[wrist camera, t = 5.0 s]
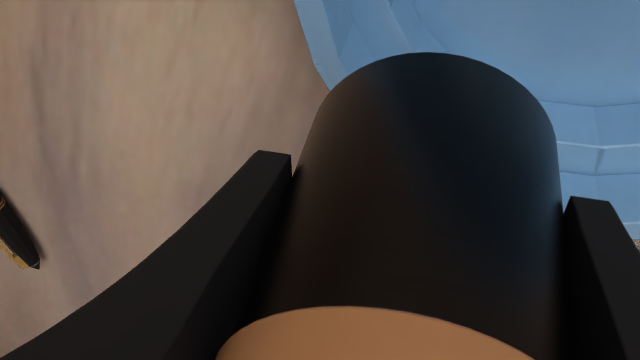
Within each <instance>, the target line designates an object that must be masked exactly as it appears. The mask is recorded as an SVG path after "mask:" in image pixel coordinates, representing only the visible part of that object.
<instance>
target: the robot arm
mask: <svg viewBox="0 0 640 360" xmlns="http://www.w3.org/2000/svg"><path fill="white" fill-rule="evenodd" d="M291 179H292V165H291V155H290V154H283V153H276V152H269V151H262V150H258V151H257V152H256V153H254V154H253V155H252V156H251V157H250V158H249V159H248V160H247V161H246V163H245V164H244V165H243V166H242V167H241V168H240V169H239V170H238V171H237V172H236V173H235V174H234V175H233V176H232V177H231V179H230V180H229V181H228V182H227V183H226V184H225V185H224V186H223V187H222V188H221V189H220V190H219V191H218V192H217V193H216V194H215V195H214V196H213V197H212V198H211V199H210V200H209V201H208V202H207V203H206V204H205V205H204V206H203V207H202V208H201V209H200V210H199V211H198V212H197V213H196V214H194V215H193V216H192V217H191V218H190V219H189V220H188V221H187V222H186V223H185V224H184V225H183V226H182V227H181V228H180V229H179V230H178V231H177V232H175V233H174V234H173V235H172V236H171V237H170V238H169V239H167V240H166V241H165V242H164V243H163V244H162V245H160V246H159V247H158V248H157V249H156V250H155V251H154V252H152V253H151V254H150V255H149V256H148V257H147V258H146V259H144V260H143V261H142V262H141V263H140V264H138V265H137V266H136V267H135V268H133V269H132V270H131V271H130V272H128V273H127V274H126V275H125V276H123V277H122V278H121V279H119V280H118V281H117V282H116V283H114V284H113V285H111V286H110V287H109V288H107V289H106V290H105V291H103V292H102V293H101V294H99V295H98V296H97V297H95V298H94V299H92V300H91V301H90V302H88V303H87V304H85V305H84V306H82V307H81V308H79V309H78V310H76V311H75V312H73V313H72V314H71V315H69V316H68V317H66V318H65V319H63V320H62V321H60V322H59V323H57V324H56V325H54V326H53V327H51V328H50V329H48V330H46V331H45V332H43V333H42V334H40V335H39V336H37V337H35V338H34V339H32V340H30V341H29V342H27V343H25V344H24V345H22V346H20V347H18V348H17V349H15V350H13V351H12V352H10V353H8V354H6V355H5V356H3V357H1V358H0V360H215V359H216V357H217V354H218V352H219V350H220V349H221V347H222V346H223V345H224V344H225V342H226V341H227V340H228V339H229V338H230V337H231V336H232V335H233V332H234V330H235V327H236V324H237V322H238V319H239V316H240V314H241V311H242V309H243V306H244V303H245V301H246V298H247V295H248V293H249V290H250V287H251V285H252V282H253V280H254V277H255V274H256V272H257V269H258V266H259V264H260V261H261V258H262V256H263V253H264V251H265V248H266V245H267V243H268V240H269V237H270V235H271V232H272V230H273V227H274V224H275V222H276V219H277V216H278V214H279V211H280V208H281V206H282V203H283V201H284V198H285V195H286V193H287V190H288V187H289V185H290V182H291ZM563 214H564V224H565V234H566V245H567V255H568V265H569V276H570V286H571V296H572V307H573V317H574V327H575V338H576V348H577V358H578V360H640V252H639V251H638V249H637V247H636V246H635V244H634V242H633V240H632V239H631V237H630V235H629V233H628V232H627V230H626V228H625V227H624V225H623V223H622V221H621V220H620V218H619V216H618V214H617V213H616V211H615V209H614V207H613V206H612V205H611V203H610V202H609V201H605V200H598V199H591V198H585V197H578V196H570V198H569V201H568V203H567V206H566V208H565V211H564V213H563Z"/></svg>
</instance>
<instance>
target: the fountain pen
mask: <svg viewBox="0 0 640 360" xmlns="http://www.w3.org/2000/svg"><path fill="white" fill-rule="evenodd" d="M0 239H1V240H2V241H3V242H4V243H5V244H6V245H7V246H8V248H9V249H10V250H11V251H12V252H13V253H14V254H13V255H11V254H10V253H9V251H8V250H7V249H6V248H5V247H4V246H3V245H2V243H1V242H0V248H1V249H2V250H3V251H4V252H5V253H6V255H7V256H8V257H9V258H10V259H11V260H12V261H13V262H15V263H16V264H17V265H18V266H19V267H20V268H22V269H25V268H28V267H32V268H35V269H40V257H39V255H38V253H37V251H36V249H35V246H34V244H33V242H32V241H31V239H30V237H29V236H28V234H27V232H26V231H25V229H24V228H23V226H22V224H21V223H20V221H19V220H18V218H17V217H16V215H15V214H14V212H13V211H12V209H11V208H10V207H9V205H8V204H7V202H6V201H5V199H4V198H3V196H2V195H1V194H0Z"/></svg>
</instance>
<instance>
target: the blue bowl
mask: <svg viewBox="0 0 640 360" xmlns="http://www.w3.org/2000/svg"><path fill="white" fill-rule="evenodd" d="M293 1H294V5H295V8H296V11H297V14H298V17H299V20H300V23H301V27H302V30H303V33H304V36H305V39H306V42H307V46H308V49H309V52H310V55H311V58H312V61H313V64H314V65H315V69H316V70H317V72H318V73H319V75H320V76H321V78H322V80H323V81H324V83H325V84H326V86H327V88H328V89H329V91H331V90H332V89H333V88H334V87H335V86H336V85H337V84H338V83H339V82H341V81H342V80H343V79H344V78H345V77H347V76H348V75H350V74H351V73H353V72H354V71H356V70H358V69H359V68H361V67H363V66H365V65H368V64H370V63H372V62H374V61H377V60H380V59H383V58H387V57H390V56H394V55H400V54H406V53H416V52H438V53H449V54H455V55H460V56H465V57H468V58H472V59H475V60H479V61H482V62H484V63H486V64H489V65H491V66H493V67H496V68H498V69H499V70H501V71H503V72H505V73H506V74H508V75H510V76H511V77H513V78H514V79H515V80H517V81H518V82H519V83H520V84H522V85H523V86H524V87H526V88H527V89H528V90H529V92H530V93H531V94H532V95H533V96H534V97H535V98H536V99H537V100H538V101H539V103H540V104H541V106H542V107H543V108H544V110H545V111H546V113H547V115H548V117H549V119H550V121H551V123H552V126H553V129H554V133H555V136H556V142H557V152H558V162H559V172H560V183H561V193H562V203H563V213H564V211H565V208H566V206H567V203H568V201H569V198H570V196H578V197H585V198H591V199H598V200H605V201H609V202H610V203H611V205H612V206H613V207H614V209H615V211H616V213H617V214H618V216H619V218H620V220H621V221H622V223H623V225H624V227H625V228H626V230H627V232H628V233H629V235H630V237H631V239H632V240H636V239H640V0H293Z"/></svg>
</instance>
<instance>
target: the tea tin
mask: <svg viewBox="0 0 640 360" xmlns="http://www.w3.org/2000/svg"><path fill="white" fill-rule="evenodd" d="M215 360H578V358H577V348H576V338H575V327H574V317H573V307H572V296H571V286H570V276H569V265H568V255H567V245H566V234H565V224H564V214H563V203H562V193H561V183H560V172H559V162H558V152H557V142H556V136H555V133H554V129H553V126H552V123H551V121H550V119H549V117H548V115H547V113H546V111H545V110H544V108H543V107H542V106H541V104H540V103H539V101H538V100H537V99H536V98H535V97H534V96H533V95H532V94H531V93H530V92H529V90H528V89H527V88H526V87H524V86H523V85H522V84H520V83H519V82H518V81H517V80H515V79H514V78H513V77H511V76H510V75H508V74H506V73H505V72H503V71H501V70H499V69H498V68H496V67H493V66H491V65H489V64H486V63H484V62H482V61H479V60H475V59H472V58H468V57H465V56H460V55H455V54H449V53H438V52H416V53H406V54H400V55H394V56H390V57H387V58H383V59H380V60H377V61H374V62H372V63H370V64H368V65H365V66H363V67H361V68H359V69H358V70H356V71H354V72H353V73H351V74H350V75H348V76H347V77H345V78H344V79H343V80H342V81H341V82H339V83H338V84H337V85H336V86H335V87H334V88H333V89H332V90H331V91H330V93H329V94H328V95H327V96H326V98H325V99H324V101H323V102H322V104H321V105H320V107H319V109H318V112H317V114H316V116H315V119H314V122H313V124H312V127H311V129H310V132H309V135H308V137H307V140H306V143H305V145H304V148H303V151H302V153H301V156H300V158H299V161H298V164H297V166H296V169H295V172H294V174H293V177H292V179H291V182H290V185H289V187H288V190H287V193H286V195H285V198H284V201H283V203H282V206H281V208H280V211H279V214H278V216H277V219H276V222H275V224H274V227H273V230H272V232H271V235H270V237H269V240H268V243H267V245H266V248H265V251H264V253H263V256H262V258H261V261H260V264H259V266H258V269H257V272H256V274H255V277H254V280H253V282H252V285H251V287H250V290H249V293H248V295H247V298H246V301H245V303H244V306H243V309H242V311H241V314H240V316H239V319H238V322H237V324H236V327H235V330H234V332H233V335H232V336H231V337H230V338H229V339H228V340H227V341H226V342H225V344H224V345H223V346H222V347H221V349H220V350H219V352H218V354H217V357H216V359H215Z"/></svg>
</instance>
